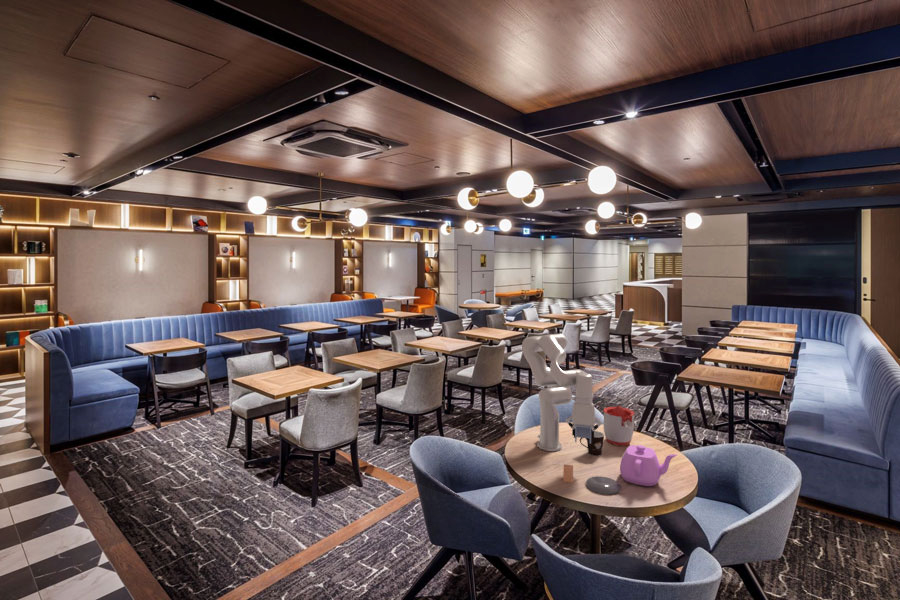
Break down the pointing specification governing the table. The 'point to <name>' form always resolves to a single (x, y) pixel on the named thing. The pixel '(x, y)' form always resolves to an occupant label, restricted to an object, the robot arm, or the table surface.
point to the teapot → (642, 465)
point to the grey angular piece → (582, 432)
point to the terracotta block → (568, 473)
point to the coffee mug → (595, 443)
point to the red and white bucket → (618, 425)
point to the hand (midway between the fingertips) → (583, 437)
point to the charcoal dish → (603, 485)
